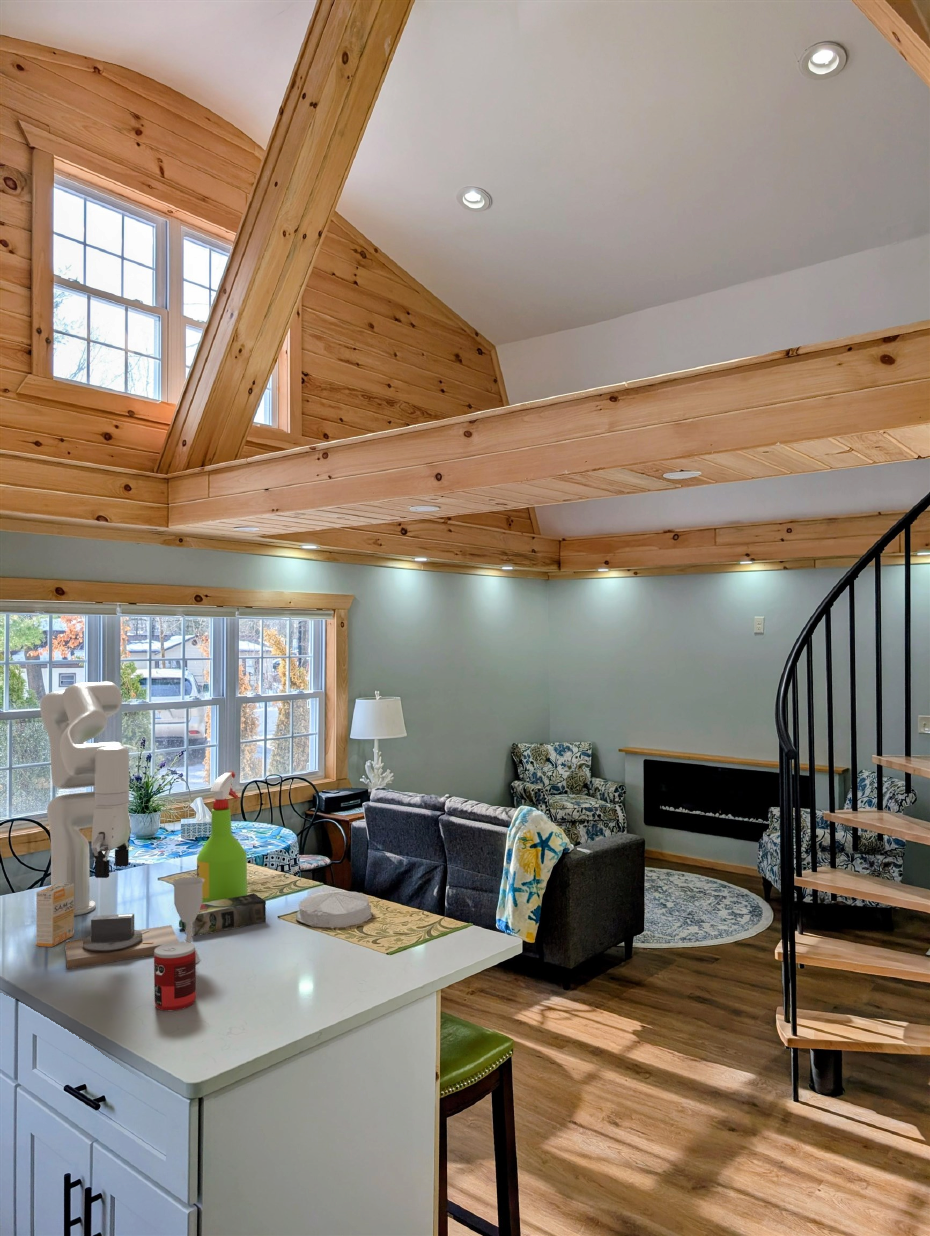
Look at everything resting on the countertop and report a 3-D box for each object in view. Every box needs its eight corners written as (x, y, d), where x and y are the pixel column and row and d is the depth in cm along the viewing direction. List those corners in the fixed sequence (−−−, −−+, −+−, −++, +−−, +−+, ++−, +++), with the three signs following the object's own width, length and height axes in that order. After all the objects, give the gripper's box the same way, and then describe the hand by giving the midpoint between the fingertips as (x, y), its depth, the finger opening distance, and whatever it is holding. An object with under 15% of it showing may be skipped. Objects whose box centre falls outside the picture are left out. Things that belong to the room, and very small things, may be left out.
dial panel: (65, 949, 206) (65, 940, 206) (171, 933, 216) (171, 924, 216) (67, 969, 193) (67, 959, 193) (179, 950, 204) (179, 941, 204)
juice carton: (188, 939, 212) (188, 913, 213) (177, 928, 221) (177, 904, 221) (266, 924, 223) (266, 900, 224) (253, 915, 232) (253, 891, 232)
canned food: (160, 996, 177) (159, 942, 177) (199, 994, 178) (199, 940, 178) (149, 1012, 169) (149, 955, 170) (191, 1010, 170) (190, 953, 170)
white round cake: (375, 906, 238) (374, 880, 238) (369, 928, 218) (368, 901, 218) (301, 908, 237) (301, 883, 238) (289, 931, 217) (289, 903, 218)
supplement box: (53, 947, 207) (52, 892, 208) (35, 946, 208) (35, 891, 209) (75, 936, 215) (75, 883, 216) (58, 935, 216) (57, 882, 217)
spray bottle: (260, 888, 255) (259, 769, 256) (235, 907, 237) (234, 778, 238) (216, 887, 256) (215, 769, 257) (188, 906, 238) (187, 778, 239)
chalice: (211, 957, 199) (210, 878, 199) (193, 968, 192) (192, 886, 193) (184, 954, 201) (184, 876, 202) (165, 964, 195) (165, 884, 195)
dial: (75, 954, 197) (74, 926, 197) (92, 934, 209) (92, 909, 210) (134, 950, 198) (134, 923, 198) (148, 931, 211) (148, 906, 211)
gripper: (113, 792, 214) (114, 861, 213) (77, 806, 196) (77, 882, 196) (143, 792, 213) (143, 862, 213) (109, 806, 196) (110, 882, 196)
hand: (112, 871), depth 205 cm, fingers open, 9 cm apart
